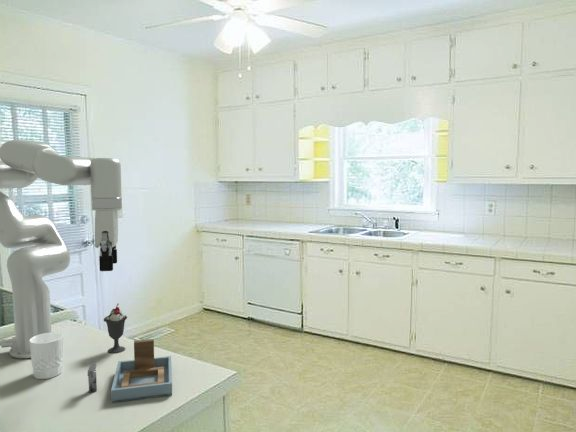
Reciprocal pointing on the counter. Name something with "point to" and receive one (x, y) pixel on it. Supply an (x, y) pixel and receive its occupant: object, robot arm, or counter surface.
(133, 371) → the ring
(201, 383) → the counter surface
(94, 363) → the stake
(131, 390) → the tray
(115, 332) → the sundae
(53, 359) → the white cup
